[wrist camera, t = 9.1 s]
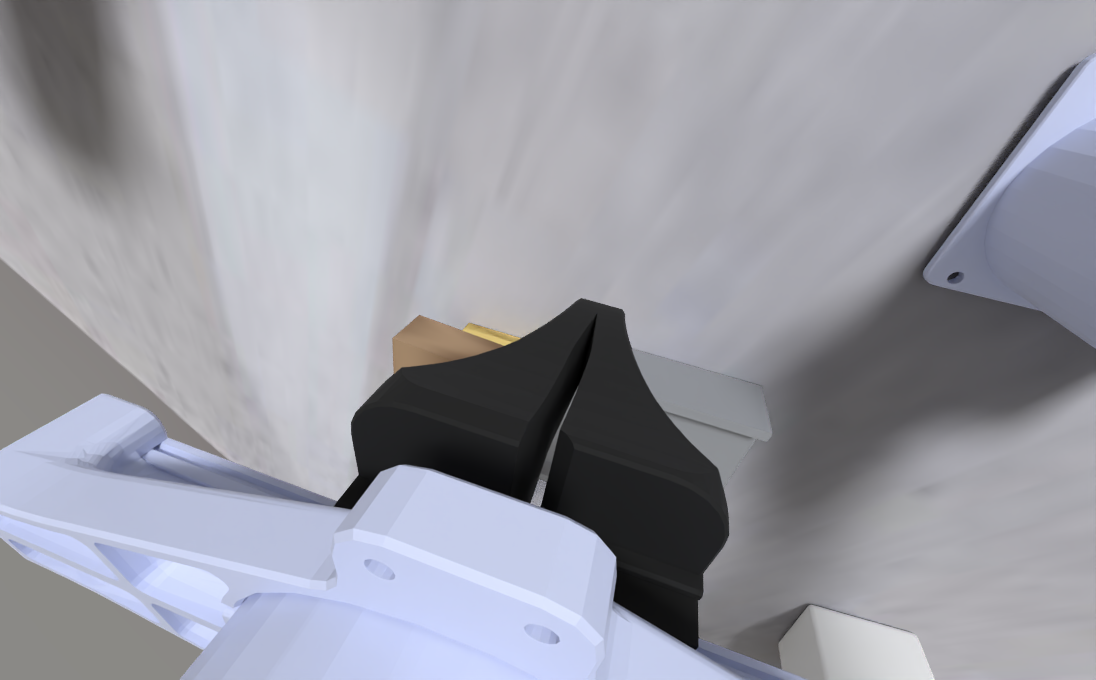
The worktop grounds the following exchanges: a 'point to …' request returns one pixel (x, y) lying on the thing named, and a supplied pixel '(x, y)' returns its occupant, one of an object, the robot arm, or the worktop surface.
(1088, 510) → the worktop surface
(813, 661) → the medicine bottle
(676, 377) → the grey piece
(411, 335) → the cover
